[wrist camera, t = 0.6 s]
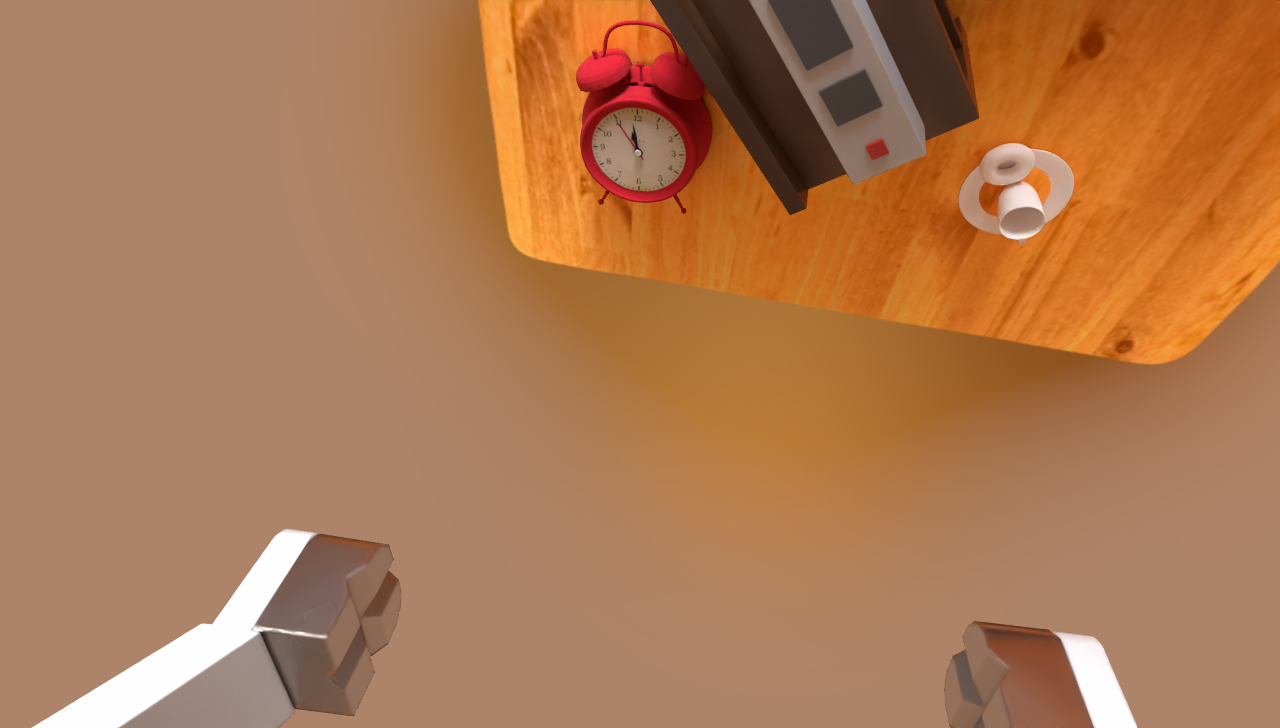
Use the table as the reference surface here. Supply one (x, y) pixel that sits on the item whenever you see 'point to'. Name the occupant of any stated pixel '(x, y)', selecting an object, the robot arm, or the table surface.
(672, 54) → the alarm clock
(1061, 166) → the white piece
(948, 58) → the shelf
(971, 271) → the table surface
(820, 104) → the remote
